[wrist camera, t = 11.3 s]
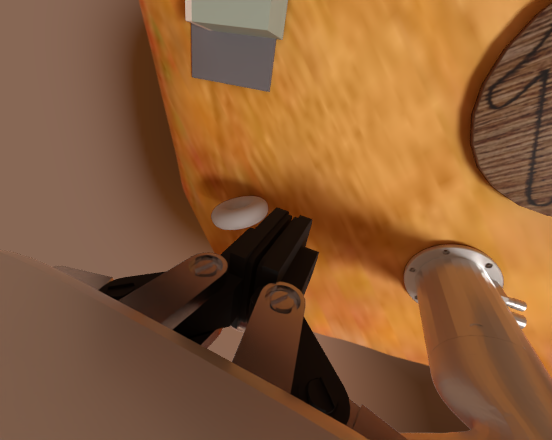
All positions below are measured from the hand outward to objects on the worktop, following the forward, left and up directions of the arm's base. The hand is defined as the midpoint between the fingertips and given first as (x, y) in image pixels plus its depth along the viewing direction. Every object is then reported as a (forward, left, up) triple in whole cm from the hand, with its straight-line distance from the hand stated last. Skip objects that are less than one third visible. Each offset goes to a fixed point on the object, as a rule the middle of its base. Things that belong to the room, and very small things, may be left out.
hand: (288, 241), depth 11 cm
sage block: (+13, -14, -26) cm, 33 cm away
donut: (+15, +14, -29) cm, 36 cm away
